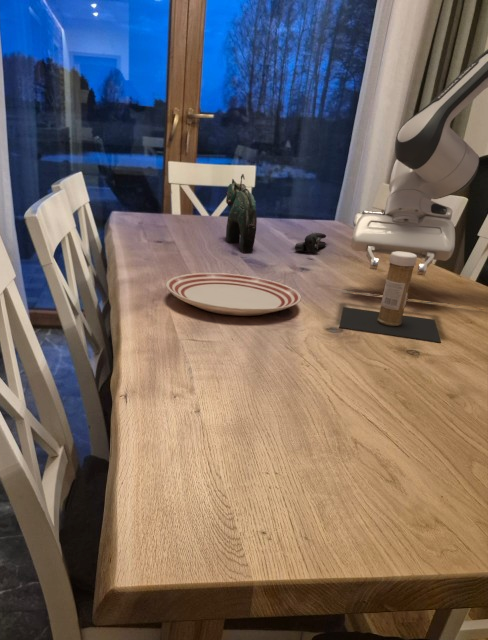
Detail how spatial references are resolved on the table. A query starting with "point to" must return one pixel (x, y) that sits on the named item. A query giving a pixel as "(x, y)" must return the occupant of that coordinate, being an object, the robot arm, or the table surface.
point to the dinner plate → (232, 293)
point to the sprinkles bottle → (396, 288)
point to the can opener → (311, 243)
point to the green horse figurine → (241, 216)
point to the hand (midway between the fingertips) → (397, 270)
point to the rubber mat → (407, 329)
